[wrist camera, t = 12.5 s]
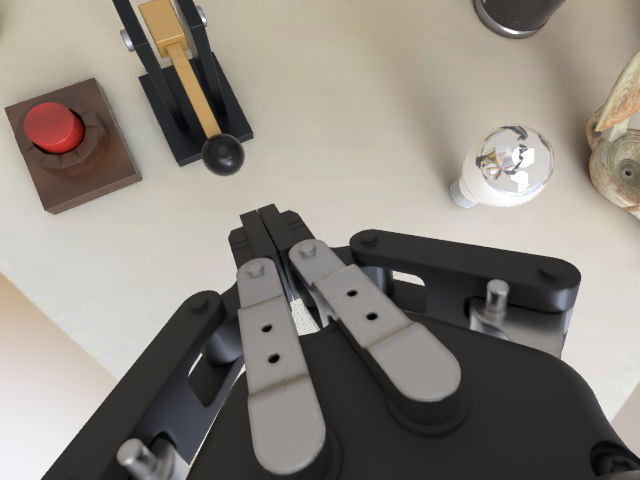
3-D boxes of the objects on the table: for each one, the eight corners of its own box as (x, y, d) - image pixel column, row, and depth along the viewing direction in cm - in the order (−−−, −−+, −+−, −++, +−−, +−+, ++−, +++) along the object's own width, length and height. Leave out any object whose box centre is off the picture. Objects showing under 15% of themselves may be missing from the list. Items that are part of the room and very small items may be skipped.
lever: (250, 169, 30) (252, 162, 27) (214, 185, 30) (211, 179, 27) (180, 15, 29) (173, -11, 26) (140, 28, 28) (128, 3, 25)
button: (90, 143, 34) (80, 134, 32) (45, 160, 33) (32, 152, 31) (75, 106, 34) (64, 95, 32) (29, 122, 33) (16, 111, 32)
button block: (142, 180, 37) (128, 166, 33) (54, 215, 35) (29, 204, 32) (101, 86, 38) (83, 63, 34) (15, 116, 36) (-13, 95, 33)
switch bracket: (253, 138, 39) (241, 50, 26) (180, 167, 37) (127, 89, 24) (214, 58, 40) (183, -64, 27) (142, 84, 39) (72, -33, 26)
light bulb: (492, 229, 40) (581, 194, 28) (429, 226, 39) (494, 189, 27) (487, 168, 41) (571, 110, 29) (426, 164, 40) (487, 103, 29)
